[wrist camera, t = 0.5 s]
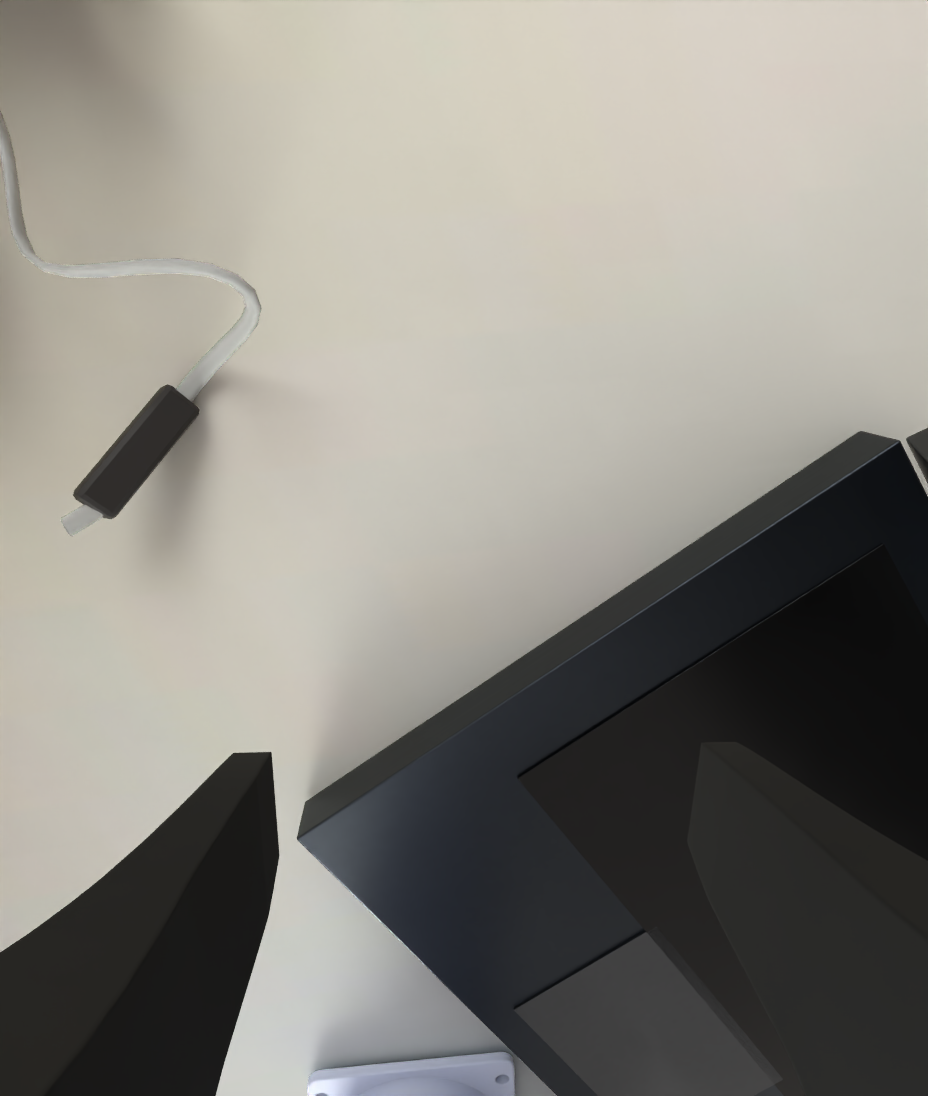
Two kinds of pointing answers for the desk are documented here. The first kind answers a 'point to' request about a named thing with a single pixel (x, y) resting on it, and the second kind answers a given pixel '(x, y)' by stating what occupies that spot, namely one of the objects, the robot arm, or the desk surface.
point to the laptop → (652, 784)
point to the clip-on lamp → (168, 406)
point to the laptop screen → (920, 450)
